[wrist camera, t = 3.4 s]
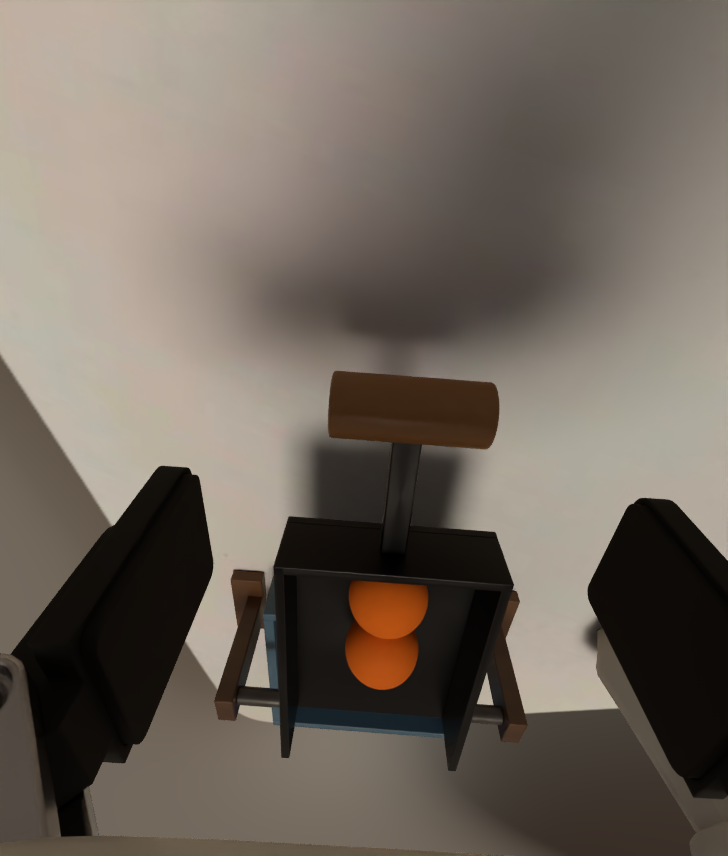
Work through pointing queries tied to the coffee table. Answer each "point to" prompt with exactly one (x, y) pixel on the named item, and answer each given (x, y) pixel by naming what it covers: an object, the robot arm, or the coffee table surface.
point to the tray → (342, 717)
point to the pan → (394, 564)
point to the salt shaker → (664, 759)
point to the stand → (235, 693)
